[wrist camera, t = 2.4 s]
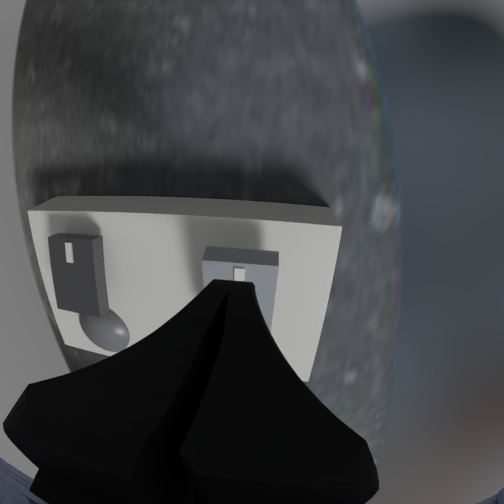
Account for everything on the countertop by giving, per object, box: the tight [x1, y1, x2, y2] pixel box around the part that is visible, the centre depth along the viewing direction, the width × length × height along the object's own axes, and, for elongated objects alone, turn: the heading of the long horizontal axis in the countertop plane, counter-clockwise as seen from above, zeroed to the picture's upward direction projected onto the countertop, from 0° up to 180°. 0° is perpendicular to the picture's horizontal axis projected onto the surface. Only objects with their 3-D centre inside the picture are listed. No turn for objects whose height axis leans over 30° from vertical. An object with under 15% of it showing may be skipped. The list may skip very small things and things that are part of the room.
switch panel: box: [28, 196, 342, 381], centre depth 17 cm, size 10×17×3 cm, turn 87°
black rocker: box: [48, 233, 109, 318], centre depth 13 cm, size 4×3×1 cm
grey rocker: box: [202, 246, 279, 333], centre depth 13 cm, size 4×3×1 cm
